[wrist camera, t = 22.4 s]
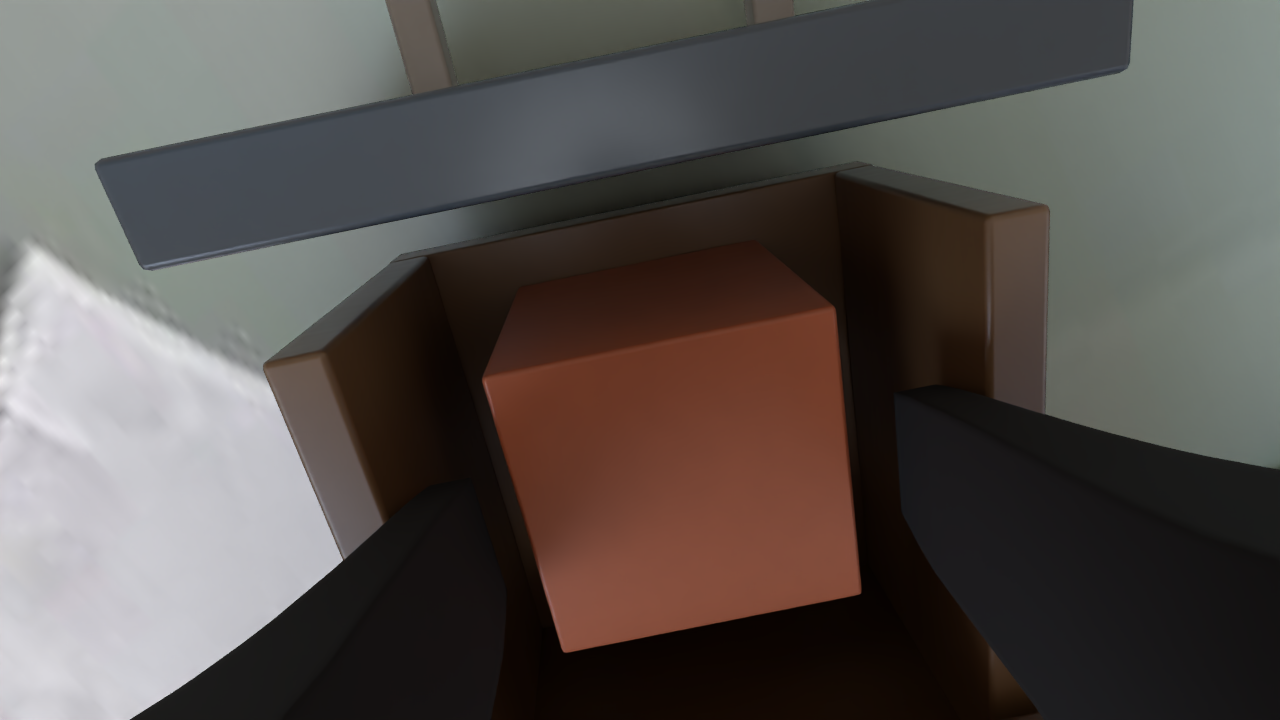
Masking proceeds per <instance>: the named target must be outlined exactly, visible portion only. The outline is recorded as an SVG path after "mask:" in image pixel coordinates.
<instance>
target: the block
mask: <svg viewBox="0 0 1280 720" xmlns="http://www.w3.org/2000/svg"><path fill="white" fill-rule="evenodd" d="M482 383H483V387H484V390H485V393H486V397H487V400H488V403H489V407H490V410H491V413H492V417H493V420H494V423H495V427H496V430H497V434H498V437H499V440H500V444H501V447H502V450H503V454H504V457H505V460H506V464H507V467H508V471H509V474H510V477H511V481H512V484H513V487H514V491H515V494H516V497H517V501H518V504H519V507H520V511H521V514H522V518H523V521H524V524H525V528H526V531H527V534H528V538H529V541H530V544H531V548H532V551H533V554H534V558H535V561H536V565H537V568H538V571H539V575H540V578H541V581H542V585H543V588H544V591H545V595H546V598H547V602H548V605H549V608H550V612H551V615H552V618H553V622H554V625H555V628H556V632H557V635H558V638H559V642H560V645H561V648H562V650H563V652H566V653H568V652H573V651H578V650H583V649H589V648H594V647H599V646H604V645H609V644H614V643H619V642H624V641H629V640H634V639H639V638H644V637H649V636H654V635H659V634H664V633H669V632H674V631H679V630H684V629H689V628H694V627H699V626H704V625H709V624H715V623H720V622H725V621H730V620H735V619H740V618H745V617H750V616H755V615H760V614H765V613H770V612H775V611H780V610H785V609H790V608H795V607H800V606H805V605H810V604H815V603H820V602H825V601H830V600H835V599H841V598H846V597H851V596H856V595H859V594H861V590H862V588H861V577H860V566H859V555H858V544H857V533H856V522H855V511H854V501H853V490H852V479H851V468H850V457H849V446H848V435H847V424H846V414H845V403H844V392H843V381H842V370H841V359H840V348H839V338H838V327H837V316H836V309H835V307H834V306H833V305H832V304H831V303H830V302H828V301H827V300H826V299H825V298H824V297H823V296H821V295H820V294H819V293H818V292H817V291H816V290H814V289H813V288H812V287H811V286H810V285H808V284H807V283H806V282H805V281H804V280H803V279H801V278H800V277H799V276H798V275H797V274H795V273H794V272H793V271H792V270H791V269H790V268H788V267H787V266H786V265H785V264H784V263H782V262H781V261H780V260H779V259H778V258H777V257H775V256H774V255H773V254H772V253H771V252H769V251H768V250H767V249H766V248H765V247H764V246H762V245H761V244H760V243H759V242H758V241H757V240H750V241H745V242H740V243H735V244H730V245H725V246H720V247H715V248H711V249H706V250H701V251H696V252H691V253H686V254H681V255H676V256H671V257H666V258H661V259H656V260H651V261H646V262H642V263H637V264H632V265H627V266H622V267H617V268H612V269H607V270H602V271H597V272H592V273H587V274H582V275H578V276H573V277H568V278H563V279H558V280H553V281H548V282H543V283H538V284H533V285H528V286H523V287H520V288H519V289H518V291H517V293H516V296H515V298H514V301H513V303H512V306H511V308H510V310H509V313H508V315H507V318H506V320H505V323H504V325H503V328H502V330H501V333H500V335H499V338H498V340H497V342H496V345H495V347H494V350H493V352H492V355H491V357H490V360H489V362H488V365H487V367H486V370H485V372H484V375H483V377H482Z"/></svg>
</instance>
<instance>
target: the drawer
mask: <svg viewBox="0 0 1280 720" xmlns="http://www.w3.org/2000/svg"><path fill="white" fill-rule="evenodd" d="M385 1H386V5H387V8H388V12H389V15H390V19H391V22H392V26H393V29H394V32H395V36H396V39H397V43H398V46H399V50H400V53H401V57H402V60H403V63H404V67H405V70H406V74H407V77H408V81H409V84H410V88H411V91H412V94H413V95H408V96H404V97H399V98H394V99H389V100H384V101H379V102H374V103H370V104H365V105H360V106H355V107H350V108H345V109H340V110H336V111H331V112H326V113H321V114H316V115H311V116H306V117H302V118H297V119H292V120H287V121H282V122H277V123H272V124H268V125H263V126H258V127H253V128H248V129H243V130H238V131H234V132H229V133H224V134H219V135H214V136H209V137H204V138H200V139H195V140H190V141H185V142H180V143H175V144H170V145H166V146H161V147H156V148H151V149H146V150H141V151H136V152H132V153H127V154H122V155H117V156H112V157H107V158H102V159H100V160H99V161H98V162H97V163H95V170H96V172H97V174H98V176H99V179H100V181H101V183H102V185H103V187H104V189H105V192H106V194H107V196H108V198H109V200H110V202H111V204H112V207H113V209H114V211H115V213H116V215H117V217H118V220H119V222H120V224H121V226H122V228H123V230H124V233H125V235H126V237H127V239H128V241H129V243H130V246H131V248H132V250H133V252H134V254H135V256H136V259H137V261H138V263H139V265H140V266H141V267H142V268H143V269H145V270H152V271H153V270H158V269H163V268H168V267H173V266H177V265H182V264H187V263H192V262H197V261H202V260H207V259H212V258H217V257H222V256H226V255H231V254H236V253H241V252H246V251H251V250H256V249H261V248H266V247H270V246H275V245H280V244H285V243H290V242H295V241H300V240H305V239H310V238H315V237H319V236H324V235H329V234H334V233H339V232H344V231H349V230H354V229H359V228H363V227H368V226H373V225H378V224H383V223H388V222H393V221H398V220H403V219H407V218H412V217H417V216H422V215H427V214H432V213H437V212H442V211H447V210H452V209H456V208H461V207H466V206H471V205H476V204H481V203H486V202H491V201H496V200H500V199H505V198H510V197H515V196H520V195H525V194H530V193H535V192H540V191H545V190H549V189H554V188H559V187H564V186H569V185H574V184H579V183H584V182H589V181H593V180H598V179H603V178H608V177H613V176H618V175H623V174H628V173H633V172H638V171H642V170H647V169H652V168H657V167H662V166H667V165H672V164H677V163H682V162H686V161H691V160H696V159H701V158H706V157H711V156H716V155H721V154H726V153H731V152H735V151H740V150H745V149H750V148H755V147H760V146H765V145H770V144H775V143H779V142H784V141H789V140H794V139H799V138H804V137H809V136H814V135H819V134H823V133H828V132H833V131H838V130H843V129H848V128H853V127H858V126H863V125H868V124H872V123H877V122H882V121H887V120H892V119H897V118H902V117H907V116H912V115H916V114H921V113H926V112H931V111H936V110H941V109H946V108H951V107H956V106H961V105H965V104H970V103H975V102H980V101H985V100H990V99H995V98H1000V97H1005V96H1009V95H1014V94H1019V93H1024V92H1029V91H1034V90H1039V89H1044V88H1049V87H1054V86H1058V85H1063V84H1068V83H1073V82H1078V81H1083V80H1088V79H1093V78H1098V77H1102V76H1107V75H1112V74H1117V73H1120V72H1122V71H1124V70H1125V69H1127V68H1128V66H1129V63H1130V50H1131V33H1132V17H1133V0H870V1H865V2H860V3H855V4H850V5H846V6H841V7H836V8H831V9H826V10H821V11H816V12H812V13H807V14H802V15H797V16H795V13H794V3H793V0H744V6H745V15H746V23H747V26H744V27H739V28H734V29H729V30H724V31H719V32H714V33H710V34H705V35H700V36H695V37H690V38H685V39H680V40H676V41H671V42H666V43H661V44H656V45H651V46H646V47H642V48H637V49H632V50H627V51H622V52H617V53H612V54H608V55H603V56H598V57H593V58H588V59H583V60H578V61H574V62H569V63H564V64H559V65H554V66H549V67H544V68H540V69H535V70H530V71H525V72H520V73H515V74H510V75H506V76H501V77H496V78H491V79H486V80H481V81H476V82H472V83H467V84H462V85H458V81H457V77H456V74H455V70H454V66H453V62H452V59H451V55H450V51H449V47H448V44H447V40H446V36H445V32H444V28H443V25H442V21H441V17H440V13H439V10H438V6H437V2H436V0H385ZM1049 230H1050V210H1049V207H1048V206H1047V205H1046V204H1041V203H1037V202H1033V201H1028V200H1024V199H1019V198H1015V197H1010V196H1006V195H1001V194H997V193H993V192H988V191H984V190H979V189H975V188H970V187H966V186H962V185H957V184H953V183H948V182H944V181H939V180H935V179H930V178H926V177H922V176H917V175H913V174H908V173H904V172H899V171H895V170H891V169H886V168H882V167H877V166H873V165H872V164H867V163H863V162H858V161H856V162H851V163H846V164H841V165H836V166H831V167H826V168H822V169H817V170H812V171H807V172H802V173H797V174H792V175H787V176H782V177H777V178H772V179H768V180H763V181H758V182H753V183H748V184H743V185H738V186H733V187H728V188H723V189H719V190H714V191H709V192H704V193H699V194H694V195H689V196H684V197H679V198H674V199H669V200H665V201H660V202H655V203H650V204H645V205H640V206H635V207H630V208H625V209H620V210H616V211H611V212H606V213H601V214H596V215H591V216H586V217H581V218H576V219H571V220H566V221H562V222H557V223H552V224H547V225H542V226H537V227H532V228H527V229H522V230H517V231H513V232H508V233H503V234H498V235H493V236H488V237H483V238H478V239H473V240H468V241H463V242H459V243H454V244H449V245H444V246H439V247H434V248H429V249H424V250H419V251H414V252H410V253H405V254H401V255H399V256H398V257H397V258H396V259H394V260H393V261H392V262H391V263H390V264H389V265H388V266H387V267H385V268H384V269H383V270H381V271H380V272H379V273H378V274H376V275H375V276H374V277H373V278H371V279H370V280H369V281H368V282H366V283H365V284H364V285H362V286H361V287H360V288H359V289H357V290H356V291H355V292H354V293H352V294H351V295H350V296H349V297H347V298H346V299H345V300H344V301H342V302H341V303H340V304H338V305H337V306H336V307H335V308H333V309H332V310H331V311H330V312H328V313H327V314H326V315H325V316H323V317H322V318H321V319H319V320H318V321H317V322H316V323H314V324H313V325H312V326H311V327H309V328H308V329H307V330H306V331H304V332H303V333H302V334H300V335H299V336H298V337H297V338H295V339H294V340H293V341H292V342H290V343H289V344H288V345H287V346H285V347H284V348H283V349H281V350H280V351H279V352H278V353H276V354H275V355H274V356H273V357H271V358H270V359H269V360H268V361H266V362H265V363H264V365H263V370H264V373H265V375H266V377H267V380H268V382H269V385H270V387H271V389H272V392H273V394H274V397H275V399H276V401H277V404H278V406H279V408H280V411H281V413H282V416H283V418H284V420H285V423H286V425H287V427H288V430H289V432H290V435H291V437H292V439H293V442H294V444H295V447H296V449H297V451H298V454H299V456H300V458H301V461H302V463H303V466H304V468H305V470H306V473H307V475H308V477H309V480H310V482H311V485H312V487H313V489H314V492H315V494H316V497H317V499H318V501H319V504H320V506H321V508H322V511H323V513H324V516H325V518H326V520H327V523H328V525H329V527H330V530H331V532H332V535H333V537H334V539H335V542H336V544H337V547H338V549H339V551H340V554H341V556H342V558H343V560H344V559H346V558H347V557H348V556H349V555H350V554H351V553H352V552H353V551H354V550H356V549H357V548H358V547H359V546H360V545H361V544H362V543H363V542H364V541H366V540H367V539H368V538H369V537H370V536H371V535H372V534H373V533H374V532H376V531H377V530H378V529H379V528H380V527H381V526H382V525H383V524H384V523H385V522H387V521H388V520H389V519H390V518H391V517H392V516H393V515H394V514H395V513H396V512H398V511H399V510H400V509H401V508H402V507H403V506H404V505H406V504H407V503H408V502H409V501H410V500H411V499H413V498H414V497H415V496H416V495H417V494H419V493H420V492H421V491H423V490H424V489H426V488H427V487H428V486H430V485H435V484H440V483H445V482H450V481H455V480H460V479H465V478H470V477H471V480H472V483H473V486H474V489H475V492H476V495H477V499H478V502H479V505H480V508H481V511H482V514H483V517H484V520H485V523H486V527H487V530H488V533H489V536H490V539H491V542H492V545H493V548H494V551H495V554H496V558H497V561H498V564H499V567H500V570H501V573H502V576H503V579H504V582H505V586H506V589H507V602H506V624H505V638H504V652H503V658H502V664H501V669H500V675H499V680H498V685H497V690H496V696H495V701H494V706H493V711H492V716H491V720H1001V719H1006V718H1011V717H1016V716H1022V715H1027V714H1032V713H1037V712H1038V710H1037V709H1036V707H1035V706H1034V704H1033V703H1032V702H1031V700H1030V699H1029V698H1028V696H1027V695H1026V694H1025V692H1024V691H1023V690H1022V688H1021V687H1020V686H1019V684H1018V683H1017V682H1016V680H1015V679H1014V678H1013V676H1012V675H1011V674H1010V672H1009V671H1008V670H1007V668H1006V667H1005V666H1004V664H1003V663H1002V662H1001V660H1000V659H999V658H998V656H997V655H996V654H995V652H994V651H993V650H992V648H991V647H990V646H989V644H988V643H987V642H986V640H985V639H984V638H983V636H982V635H981V634H980V632H979V631H978V630H977V628H976V627H975V626H974V624H973V623H972V622H971V620H970V619H969V618H968V616H967V615H966V614H965V612H964V611H963V610H962V608H961V607H960V606H959V604H958V603H957V602H956V600H955V599H954V598H953V596H952V595H951V594H950V592H949V591H948V589H947V588H946V587H945V585H944V584H943V583H942V581H941V580H940V579H939V577H938V576H937V574H936V573H935V572H934V570H933V569H932V567H931V565H930V564H929V562H928V560H927V558H926V557H925V555H924V553H923V551H922V550H921V548H920V546H919V544H918V542H917V541H916V539H915V537H914V535H913V533H912V531H911V529H910V527H909V526H908V524H907V522H906V520H905V518H904V516H903V514H902V512H901V499H900V483H899V468H898V452H897V437H896V421H895V406H894V392H899V391H904V390H909V389H914V388H919V387H924V386H929V385H934V384H937V385H943V386H948V387H953V388H957V389H961V390H965V391H968V392H972V393H976V394H979V395H983V396H986V397H989V398H993V399H996V400H999V401H1002V402H1006V403H1009V404H1012V405H1016V406H1019V407H1022V408H1025V409H1029V410H1032V411H1035V412H1039V413H1042V414H1045V398H1046V356H1047V314H1048V272H1049ZM750 240H757V241H758V242H759V243H760V244H761V245H762V246H764V247H765V248H766V249H767V250H768V251H769V252H771V253H772V254H773V255H774V256H775V257H777V258H778V259H779V260H780V261H781V262H782V263H784V264H785V265H786V266H787V267H788V268H790V269H791V270H792V271H793V272H794V273H795V274H797V275H798V276H799V277H800V278H801V279H803V280H804V281H805V282H806V283H807V284H808V285H810V286H811V287H812V288H813V289H814V290H816V291H817V292H818V293H819V294H820V295H821V296H823V297H824V298H825V299H826V300H827V301H828V302H830V303H831V304H832V305H833V306H834V307H835V309H836V316H837V327H838V338H839V348H840V359H841V370H842V381H843V392H844V403H845V414H846V424H847V435H848V446H849V457H850V468H851V479H852V490H853V501H854V511H855V522H856V533H857V544H858V555H859V566H860V577H861V588H862V590H861V594H859V595H856V596H851V597H846V598H841V599H835V600H830V601H825V602H820V603H815V604H810V605H805V606H800V607H795V608H790V609H785V610H780V611H775V612H770V613H765V614H760V615H755V616H750V617H745V618H740V619H735V620H730V621H725V622H720V623H715V624H709V625H704V626H699V627H694V628H689V629H684V630H679V631H674V632H669V633H664V634H659V635H654V636H649V637H644V638H639V639H634V640H629V641H624V642H619V643H614V644H609V645H604V646H599V647H594V648H589V649H583V650H578V651H573V652H568V653H566V652H563V650H562V648H561V645H560V642H559V638H558V635H557V632H556V628H555V625H554V622H553V618H552V615H551V612H550V608H549V605H548V602H547V598H546V595H545V591H544V588H543V585H542V581H541V578H540V575H539V571H538V568H537V565H536V561H535V558H534V554H533V551H532V548H531V544H530V541H529V538H528V534H527V531H526V528H525V524H524V521H523V518H522V514H521V511H520V507H519V504H518V501H517V497H516V494H515V491H514V487H513V484H512V481H511V477H510V474H509V471H508V467H507V464H506V460H505V457H504V454H503V450H502V447H501V444H500V440H499V437H498V434H497V430H496V427H495V423H494V420H493V417H492V413H491V410H490V407H489V403H488V400H487V397H486V393H485V390H484V387H483V383H482V377H483V375H484V372H485V370H486V367H487V365H488V362H489V360H490V357H491V355H492V352H493V350H494V347H495V345H496V342H497V340H498V338H499V335H500V333H501V330H502V328H503V325H504V323H505V320H506V318H507V315H508V313H509V310H510V308H511V306H512V303H513V301H514V298H515V296H516V293H517V291H518V289H519V288H520V287H523V286H528V285H533V284H538V283H543V282H548V281H553V280H558V279H563V278H568V277H573V276H578V275H582V274H587V273H592V272H597V271H602V270H607V269H612V268H617V267H622V266H627V265H632V264H637V263H642V262H646V261H651V260H656V259H661V258H666V257H671V256H676V255H681V254H686V253H691V252H696V251H701V250H706V249H711V248H715V247H720V246H725V245H730V244H735V243H740V242H745V241H750Z"/></svg>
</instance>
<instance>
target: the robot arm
mask: <svg viewBox="0 0 1280 720" xmlns="http://www.w3.org/2000/svg"><path fill="white" fill-rule="evenodd" d="M894 406H895V421H896V437H897V452H898V468H899V483H900V499H901V512H902V514H903V516H904V518H905V520H906V522H907V524H908V526H909V527H910V529H911V531H912V533H913V535H914V537H915V539H916V541H917V542H918V544H919V546H920V548H921V550H922V551H923V553H924V555H925V557H926V558H927V560H928V562H929V564H930V565H931V567H932V569H933V570H934V572H935V573H936V574H937V576H938V577H939V579H940V580H941V581H942V583H943V584H944V585H945V587H946V588H947V589H948V591H949V592H950V594H951V595H952V596H953V598H954V599H955V600H956V602H957V603H958V604H959V606H960V607H961V608H962V610H963V611H964V612H965V614H966V615H967V616H968V618H969V619H970V620H971V622H972V623H973V624H974V626H975V627H976V628H977V630H978V631H979V632H980V634H981V635H982V636H983V638H984V639H985V640H986V642H987V643H988V644H989V646H990V647H991V648H992V650H993V651H994V652H995V654H996V655H997V656H998V658H999V659H1000V660H1001V662H1002V663H1003V664H1004V666H1005V667H1006V668H1007V670H1008V671H1009V672H1010V674H1011V675H1012V676H1013V678H1014V679H1015V680H1016V682H1017V683H1018V684H1019V686H1020V687H1021V688H1022V690H1023V691H1024V692H1025V694H1026V695H1027V696H1028V698H1029V699H1030V700H1031V702H1032V703H1033V704H1034V706H1035V707H1036V709H1037V710H1038V712H1039V713H1040V714H1041V716H1042V717H1043V719H1044V720H1280V470H1276V469H1271V468H1266V467H1261V466H1255V465H1250V464H1245V463H1240V462H1234V461H1229V460H1224V459H1219V458H1213V457H1208V456H1203V455H1198V454H1194V453H1189V452H1185V451H1180V450H1176V449H1171V448H1167V447H1163V446H1159V445H1155V444H1151V443H1147V442H1143V441H1139V440H1135V439H1131V438H1127V437H1123V436H1119V435H1115V434H1111V433H1108V432H1104V431H1101V430H1097V429H1093V428H1090V427H1086V426H1083V425H1079V424H1076V423H1072V422H1069V421H1065V420H1062V419H1059V418H1055V417H1052V416H1049V415H1045V414H1042V413H1039V412H1035V411H1032V410H1029V409H1025V408H1022V407H1019V406H1016V405H1012V404H1009V403H1006V402H1002V401H999V400H996V399H993V398H989V397H986V396H983V395H979V394H976V393H972V392H968V391H965V390H961V389H957V388H953V387H948V386H943V385H937V384H934V385H929V386H924V387H919V388H914V389H909V390H904V391H899V392H894ZM506 602H507V589H506V586H505V582H504V579H503V576H502V573H501V570H500V567H499V564H498V561H497V558H496V554H495V551H494V548H493V545H492V542H491V539H490V536H489V533H488V530H487V527H486V523H485V520H484V517H483V514H482V511H481V508H480V505H479V502H478V499H477V495H476V492H475V489H474V486H473V483H472V480H471V477H470V478H465V479H460V480H455V481H450V482H445V483H440V484H435V485H430V486H428V487H427V488H426V489H424V490H423V491H421V492H420V493H419V494H417V495H416V496H415V497H414V498H413V499H411V500H410V501H409V502H408V503H407V504H406V505H404V506H403V507H402V508H401V509H400V510H399V511H398V512H396V513H395V514H394V515H393V516H392V517H391V518H390V519H389V520H388V521H387V522H385V523H384V524H383V525H382V526H381V527H380V528H379V529H378V530H377V531H376V532H374V533H373V534H372V535H371V536H370V537H369V538H368V539H367V540H366V541H364V542H363V543H362V544H361V545H360V546H359V547H358V548H357V549H356V550H354V551H353V552H352V553H351V554H350V555H349V556H348V557H347V558H346V559H344V560H343V561H342V562H341V563H340V564H339V565H338V566H337V567H336V568H334V569H333V570H332V571H331V572H330V573H328V574H327V575H326V576H325V577H324V578H322V579H321V580H320V581H319V582H318V583H317V584H315V585H314V586H313V587H312V588H311V589H309V590H308V591H307V592H306V593H305V594H303V595H302V596H301V597H300V598H299V599H297V600H296V601H295V602H294V603H293V604H291V605H290V606H289V607H288V608H287V609H285V610H284V611H283V612H282V613H281V614H279V615H278V616H277V617H276V618H275V619H273V620H272V621H271V622H270V623H268V624H267V625H266V626H264V627H263V628H262V629H261V630H259V631H258V632H257V633H255V634H254V635H253V636H251V637H250V638H249V639H247V640H246V641H245V642H244V643H242V644H241V645H240V646H238V647H237V648H236V649H234V650H233V651H231V652H230V653H229V654H227V655H226V656H224V657H223V658H222V659H220V660H219V661H217V662H216V663H215V664H213V665H212V666H210V667H209V668H208V669H206V670H205V671H203V672H202V673H201V674H199V675H198V676H196V677H195V678H193V679H192V680H191V681H189V682H188V683H186V684H185V685H183V686H182V687H180V688H179V689H177V690H176V691H174V692H173V693H171V694H170V695H168V696H166V697H165V698H163V699H162V700H160V701H159V702H157V703H155V704H154V705H152V706H151V707H149V708H147V709H146V710H144V711H143V712H141V713H140V714H138V715H136V716H135V717H133V718H132V719H130V720H491V716H492V711H493V706H494V701H495V696H496V690H497V685H498V680H499V675H500V669H501V664H502V658H503V652H504V638H505V624H506Z"/></svg>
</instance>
